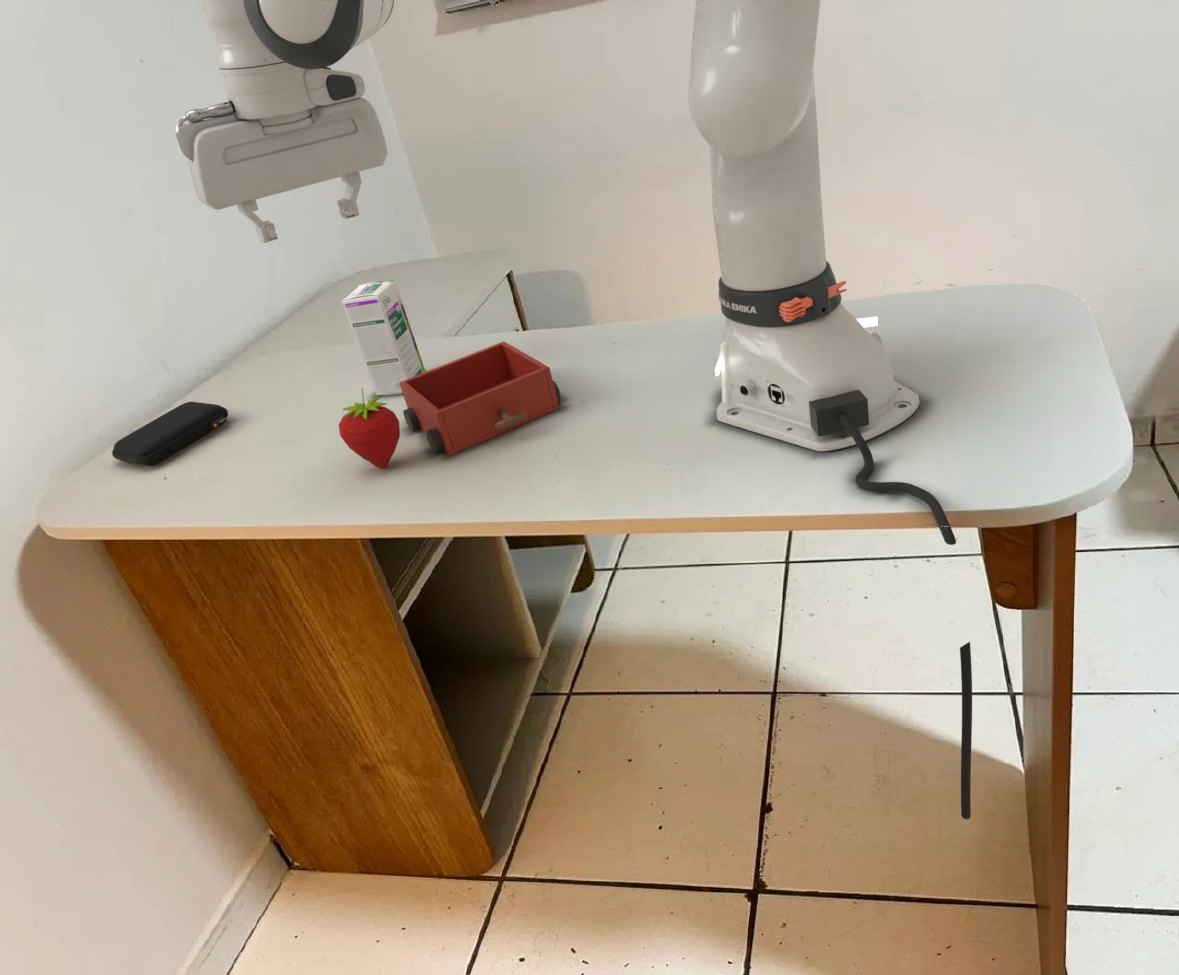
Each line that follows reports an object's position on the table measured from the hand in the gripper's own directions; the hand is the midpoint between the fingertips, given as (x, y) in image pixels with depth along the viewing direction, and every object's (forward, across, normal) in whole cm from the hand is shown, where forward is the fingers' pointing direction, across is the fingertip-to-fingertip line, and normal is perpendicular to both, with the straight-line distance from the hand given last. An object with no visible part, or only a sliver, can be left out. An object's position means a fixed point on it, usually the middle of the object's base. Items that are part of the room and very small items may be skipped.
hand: (310, 228), depth 101 cm
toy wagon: (+27, +13, -7) cm, 31 cm away
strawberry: (+28, -1, -6) cm, 28 cm away
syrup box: (+29, +12, +15) cm, 34 cm away
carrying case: (+31, -17, +29) cm, 46 cm away
